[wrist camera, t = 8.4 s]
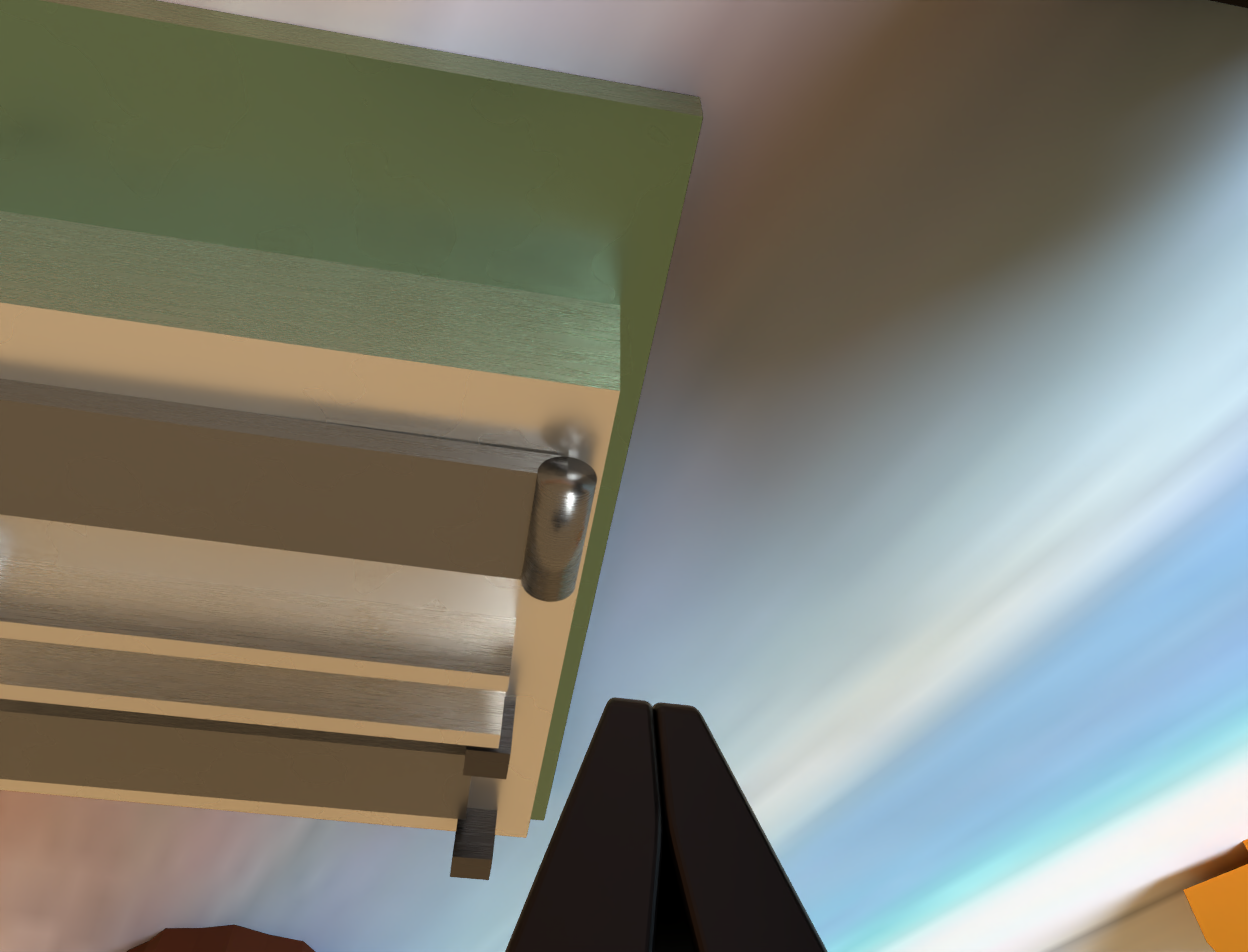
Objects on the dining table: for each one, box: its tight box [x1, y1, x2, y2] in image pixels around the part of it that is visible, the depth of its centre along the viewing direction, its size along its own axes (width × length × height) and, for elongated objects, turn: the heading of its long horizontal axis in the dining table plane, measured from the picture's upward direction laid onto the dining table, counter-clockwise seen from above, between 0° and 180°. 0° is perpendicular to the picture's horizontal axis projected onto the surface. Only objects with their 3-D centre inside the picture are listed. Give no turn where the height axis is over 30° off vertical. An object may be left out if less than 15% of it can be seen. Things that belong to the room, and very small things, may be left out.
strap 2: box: [0, 699, 471, 820], centre depth 24 cm, size 13×3×1 cm, turn 80°
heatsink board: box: [0, 0, 703, 880], centre depth 23 cm, size 16×23×6 cm
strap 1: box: [0, 379, 597, 602], centre depth 19 cm, size 12×3×1 cm, turn 80°
